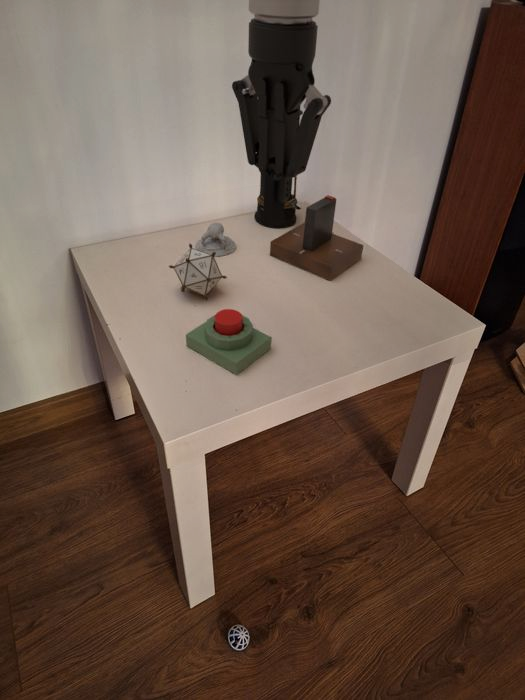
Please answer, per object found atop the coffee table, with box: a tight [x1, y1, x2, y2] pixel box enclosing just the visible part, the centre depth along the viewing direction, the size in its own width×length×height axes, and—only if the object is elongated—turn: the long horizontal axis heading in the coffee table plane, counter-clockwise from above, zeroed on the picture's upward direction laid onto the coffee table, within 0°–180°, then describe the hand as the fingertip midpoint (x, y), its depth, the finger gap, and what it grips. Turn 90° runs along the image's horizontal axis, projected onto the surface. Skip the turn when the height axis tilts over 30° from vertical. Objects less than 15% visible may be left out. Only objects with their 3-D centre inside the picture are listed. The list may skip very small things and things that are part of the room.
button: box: [214, 308, 243, 336], centre depth 77 cm, size 4×4×2 cm
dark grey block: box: [303, 194, 337, 251], centre depth 98 cm, size 7×2×8 cm, turn 142°
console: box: [269, 222, 364, 282], centre depth 102 cm, size 14×11×3 cm
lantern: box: [254, 109, 304, 229], centre depth 106 cm, size 9×9×30 cm
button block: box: [185, 314, 272, 376], centre depth 79 cm, size 10×8×4 cm
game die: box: [168, 242, 228, 302], centre depth 89 cm, size 9×8×10 cm
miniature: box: [194, 222, 237, 257], centre depth 103 cm, size 8×8×5 cm
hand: (273, 221), depth 72 cm, fingers closed
